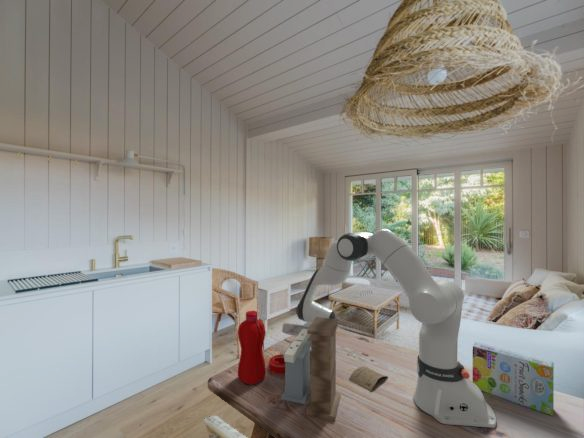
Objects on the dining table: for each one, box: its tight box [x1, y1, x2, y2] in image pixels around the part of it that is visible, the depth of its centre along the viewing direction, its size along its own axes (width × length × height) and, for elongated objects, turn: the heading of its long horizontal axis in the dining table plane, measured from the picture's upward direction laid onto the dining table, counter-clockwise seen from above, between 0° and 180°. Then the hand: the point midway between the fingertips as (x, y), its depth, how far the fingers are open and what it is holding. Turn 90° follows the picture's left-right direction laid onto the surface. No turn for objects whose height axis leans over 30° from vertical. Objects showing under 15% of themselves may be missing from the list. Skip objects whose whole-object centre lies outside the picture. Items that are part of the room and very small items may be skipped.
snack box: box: [472, 341, 555, 417], centre depth 94 cm, size 21×6×15 cm, turn 46°
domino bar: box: [283, 329, 310, 363], centre depth 98 cm, size 3×21×2 cm, turn 162°
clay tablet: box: [348, 365, 388, 393], centre depth 105 cm, size 14×10×3 cm
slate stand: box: [281, 339, 311, 405], centre depth 98 cm, size 8×12×15 cm, turn 163°
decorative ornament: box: [268, 354, 285, 375], centre depth 114 cm, size 10×10×3 cm
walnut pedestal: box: [305, 317, 342, 422], centre depth 90 cm, size 9×12×26 cm
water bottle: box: [237, 310, 267, 386], centre depth 105 cm, size 9×11×25 cm
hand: (303, 328), depth 105 cm, fingers open, 8 cm apart
